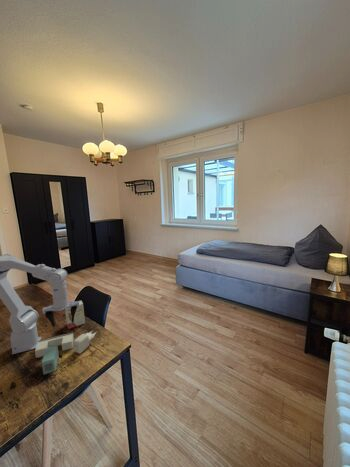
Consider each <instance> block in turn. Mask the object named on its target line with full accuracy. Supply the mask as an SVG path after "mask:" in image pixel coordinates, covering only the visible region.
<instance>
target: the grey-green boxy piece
mask: <svg viewBox="0 0 350 467" xmlns="http://www.w3.org/2000/svg"><path fill="white" fill-rule="evenodd" d="M58 347H59V346H53V347H49V348H46V351H45V354H44V356H42V360H41V367H42V373H43V375H47V374H51V373H54V372H56V371H57V366H58V361H59V358H60V357H59V349H58Z"/></svg>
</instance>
